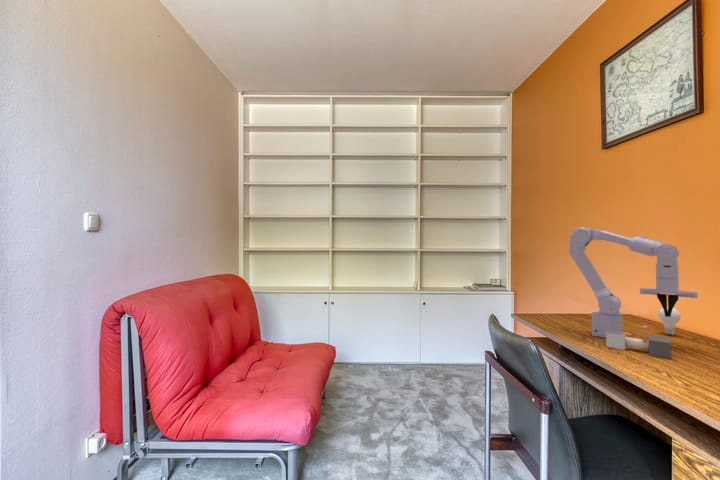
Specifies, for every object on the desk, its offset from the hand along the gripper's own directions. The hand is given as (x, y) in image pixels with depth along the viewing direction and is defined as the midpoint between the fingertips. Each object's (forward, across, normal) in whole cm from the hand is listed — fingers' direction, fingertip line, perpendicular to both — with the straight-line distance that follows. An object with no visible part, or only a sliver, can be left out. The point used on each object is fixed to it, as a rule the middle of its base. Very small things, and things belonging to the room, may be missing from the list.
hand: (667, 316), depth 110 cm
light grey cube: (+10, -13, -14) cm, 22 cm away
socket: (+10, -2, -14) cm, 18 cm away
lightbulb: (+11, +1, +18) cm, 21 cm away
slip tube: (+9, -8, -14) cm, 18 cm away
